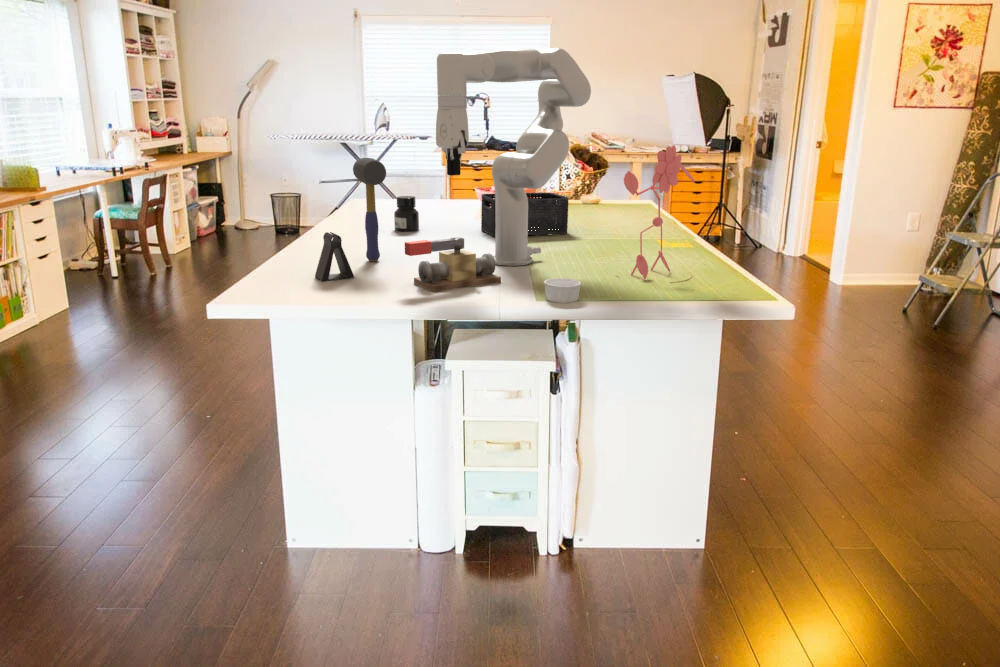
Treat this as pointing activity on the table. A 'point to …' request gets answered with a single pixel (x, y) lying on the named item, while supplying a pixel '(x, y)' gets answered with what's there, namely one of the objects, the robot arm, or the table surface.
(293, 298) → the table surface
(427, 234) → the table surface
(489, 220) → the storage bin
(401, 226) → the ink bottle
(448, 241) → the lever
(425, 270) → the valve manifold
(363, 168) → the rubber mallet
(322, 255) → the phone stand
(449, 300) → the table surface
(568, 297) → the ramekin
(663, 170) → the figurine
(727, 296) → the table surface
